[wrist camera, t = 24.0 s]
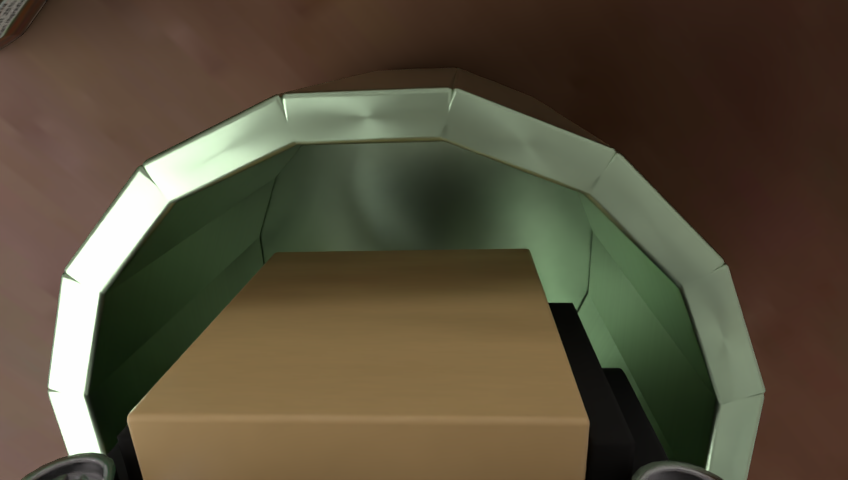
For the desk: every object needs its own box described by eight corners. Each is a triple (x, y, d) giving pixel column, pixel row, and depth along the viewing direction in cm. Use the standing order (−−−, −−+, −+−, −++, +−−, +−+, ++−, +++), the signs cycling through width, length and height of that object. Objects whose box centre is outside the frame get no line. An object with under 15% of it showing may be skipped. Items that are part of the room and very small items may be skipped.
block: (274, 250, 10) (121, 416, 6) (530, 247, 10) (592, 420, 5) (303, 453, 12) (205, 709, 7) (523, 457, 12) (566, 728, 7)
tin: (218, 76, 15) (-52, 104, 7) (626, 59, 14) (837, 71, 6) (273, 407, 19) (137, 666, 11) (596, 409, 18) (704, 692, 10)
